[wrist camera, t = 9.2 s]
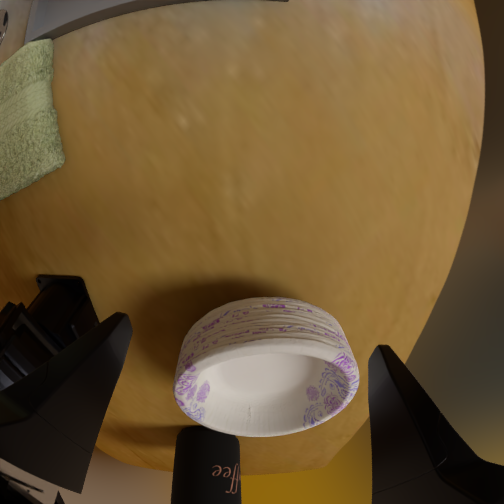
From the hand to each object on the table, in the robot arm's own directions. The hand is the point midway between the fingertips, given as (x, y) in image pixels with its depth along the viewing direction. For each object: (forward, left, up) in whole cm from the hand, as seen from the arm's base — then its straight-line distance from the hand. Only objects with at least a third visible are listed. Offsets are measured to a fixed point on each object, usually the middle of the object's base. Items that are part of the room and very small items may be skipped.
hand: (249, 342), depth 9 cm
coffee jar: (-6, -39, -13) cm, 41 cm away
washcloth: (-23, +9, -13) cm, 28 cm away
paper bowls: (+2, -13, -13) cm, 18 cm away
